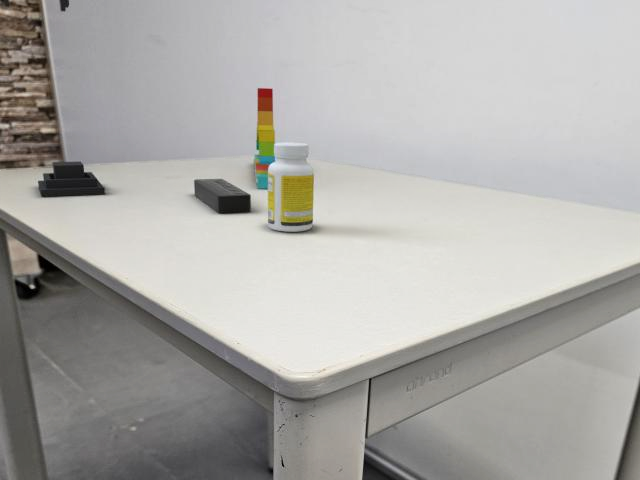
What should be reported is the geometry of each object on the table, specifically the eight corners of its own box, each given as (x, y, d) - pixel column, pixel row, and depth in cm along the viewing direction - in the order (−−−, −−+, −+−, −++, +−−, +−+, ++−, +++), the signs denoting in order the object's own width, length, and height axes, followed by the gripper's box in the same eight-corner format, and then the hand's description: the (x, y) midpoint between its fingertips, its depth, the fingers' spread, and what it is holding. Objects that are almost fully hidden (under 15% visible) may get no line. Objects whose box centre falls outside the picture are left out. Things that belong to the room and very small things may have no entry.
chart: (253, 164, 130) (252, 86, 124) (268, 164, 130) (269, 86, 125) (256, 188, 102) (255, 89, 96) (275, 189, 102) (276, 90, 97)
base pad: (41, 197, 90) (39, 181, 89) (38, 187, 97) (36, 172, 96) (105, 194, 93) (103, 179, 92) (97, 185, 100) (96, 171, 99)
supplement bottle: (321, 227, 77) (323, 144, 74) (294, 235, 73) (296, 147, 69) (286, 220, 80) (286, 140, 76) (258, 228, 76) (257, 143, 72)
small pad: (56, 186, 92) (54, 165, 91) (54, 182, 95) (52, 162, 94) (85, 185, 94) (83, 164, 93) (82, 181, 97) (80, 161, 96)
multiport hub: (219, 213, 83) (218, 196, 82) (194, 194, 95) (193, 179, 94) (251, 212, 84) (251, 194, 84) (222, 193, 97) (222, 178, 96)
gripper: (-31, -119, 93) (-13, 4, 99) (72, -105, 99) (83, 10, 105) (-29, -107, 100) (-12, 7, 105) (68, -95, 105) (78, 13, 111)
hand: (35, 9), depth 105 cm, fingers open, 8 cm apart
